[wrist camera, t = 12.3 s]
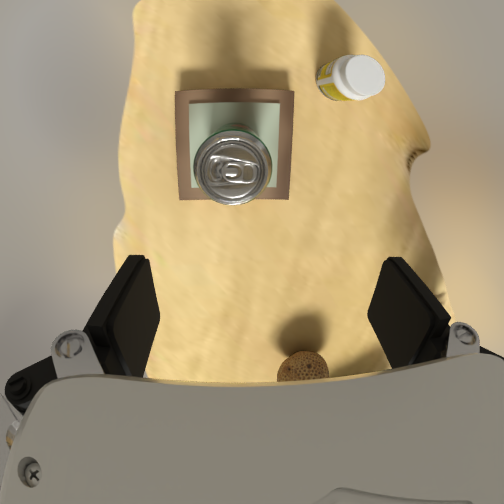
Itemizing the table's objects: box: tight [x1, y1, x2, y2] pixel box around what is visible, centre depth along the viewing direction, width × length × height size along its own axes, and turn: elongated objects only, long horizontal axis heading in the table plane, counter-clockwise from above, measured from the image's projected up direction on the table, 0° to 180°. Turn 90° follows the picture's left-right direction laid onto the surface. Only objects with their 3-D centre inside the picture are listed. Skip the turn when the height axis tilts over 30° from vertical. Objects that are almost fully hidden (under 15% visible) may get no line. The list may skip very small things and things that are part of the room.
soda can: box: [193, 123, 272, 205], centre depth 21 cm, size 5×5×12 cm
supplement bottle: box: [316, 55, 385, 101], centre depth 22 cm, size 5×5×8 cm
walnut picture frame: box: [175, 89, 294, 200], centre depth 28 cm, size 12×12×3 cm
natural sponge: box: [277, 351, 329, 382], centre depth 42 cm, size 9×9×10 cm
